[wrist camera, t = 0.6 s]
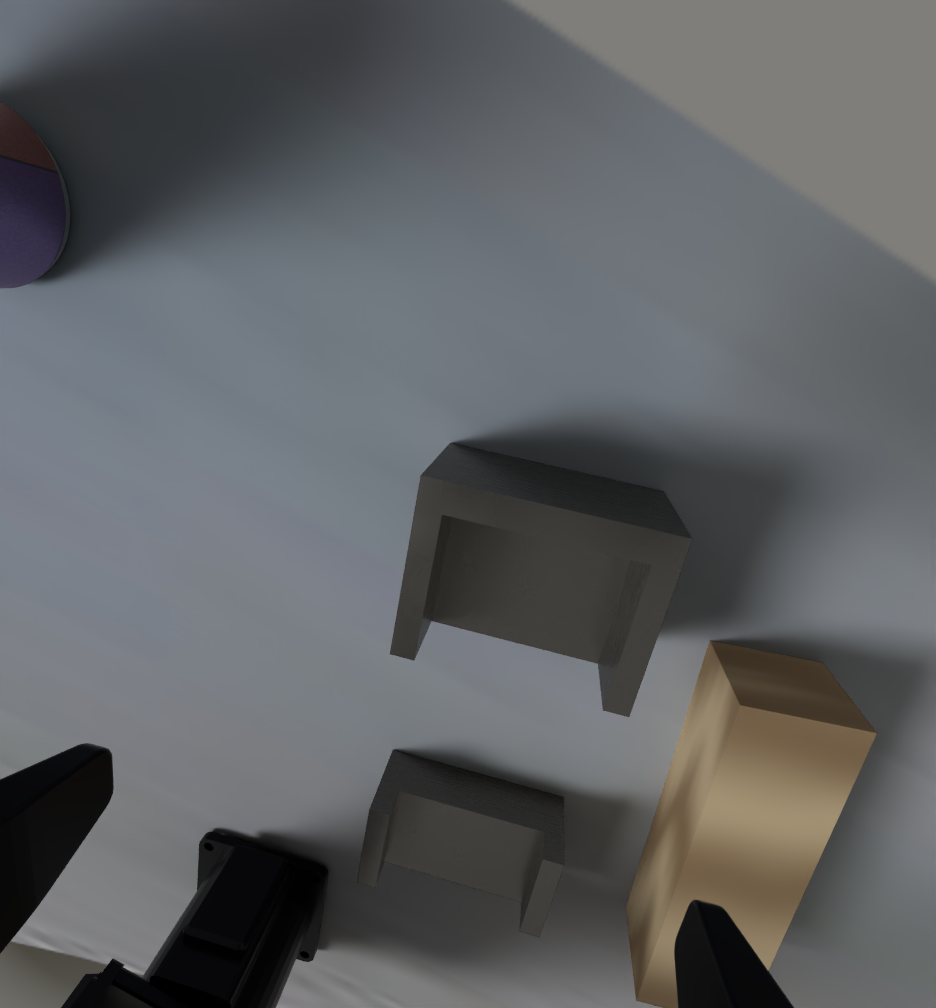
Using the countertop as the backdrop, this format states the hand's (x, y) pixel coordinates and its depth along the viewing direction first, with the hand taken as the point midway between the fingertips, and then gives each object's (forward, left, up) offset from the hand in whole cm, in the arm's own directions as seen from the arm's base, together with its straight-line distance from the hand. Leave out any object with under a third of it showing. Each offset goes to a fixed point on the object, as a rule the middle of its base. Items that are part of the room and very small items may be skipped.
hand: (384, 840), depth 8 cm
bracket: (-1, -2, -13) cm, 13 cm away
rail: (-9, -11, -14) cm, 20 cm away
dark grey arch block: (-13, -2, -13) cm, 19 cm away
